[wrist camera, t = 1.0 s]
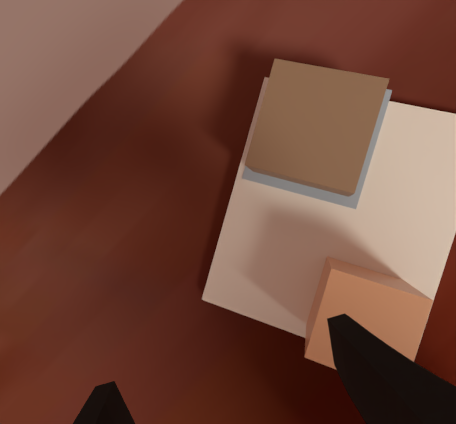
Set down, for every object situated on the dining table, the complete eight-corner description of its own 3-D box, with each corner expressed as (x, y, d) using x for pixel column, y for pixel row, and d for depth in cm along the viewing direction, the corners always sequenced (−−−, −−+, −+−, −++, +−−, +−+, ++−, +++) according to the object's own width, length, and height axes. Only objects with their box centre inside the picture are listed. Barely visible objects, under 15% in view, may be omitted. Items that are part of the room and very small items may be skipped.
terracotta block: (403, 279, 20) (433, 300, 15) (380, 351, 20) (402, 395, 15) (326, 256, 21) (331, 268, 16) (306, 324, 21) (304, 357, 16)
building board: (485, 115, 20) (528, 90, 16) (404, 368, 20) (426, 404, 17) (269, 74, 23) (260, 44, 19) (206, 296, 23) (184, 311, 20)
